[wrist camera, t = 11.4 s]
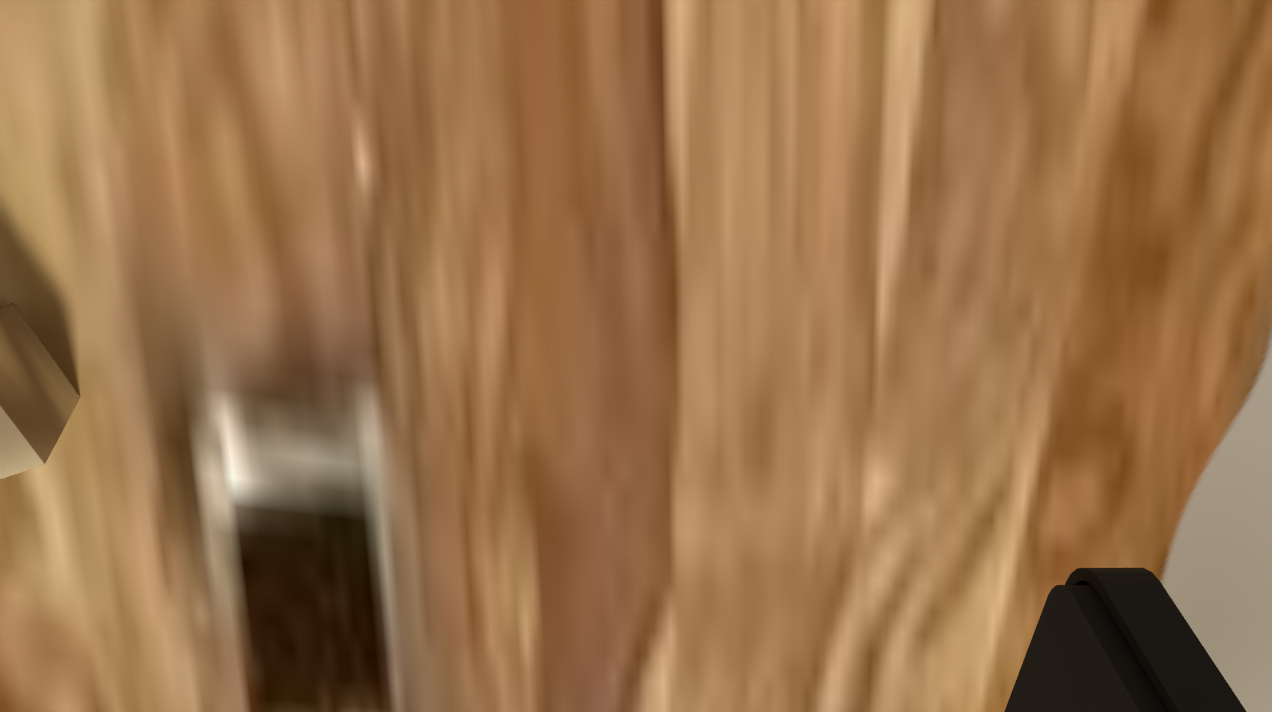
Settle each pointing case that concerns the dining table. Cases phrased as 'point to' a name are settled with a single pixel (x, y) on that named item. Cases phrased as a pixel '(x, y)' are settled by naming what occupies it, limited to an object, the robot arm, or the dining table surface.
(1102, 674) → the robot arm
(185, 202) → the dining table surface
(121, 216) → the dining table surface
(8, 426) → the tan block
